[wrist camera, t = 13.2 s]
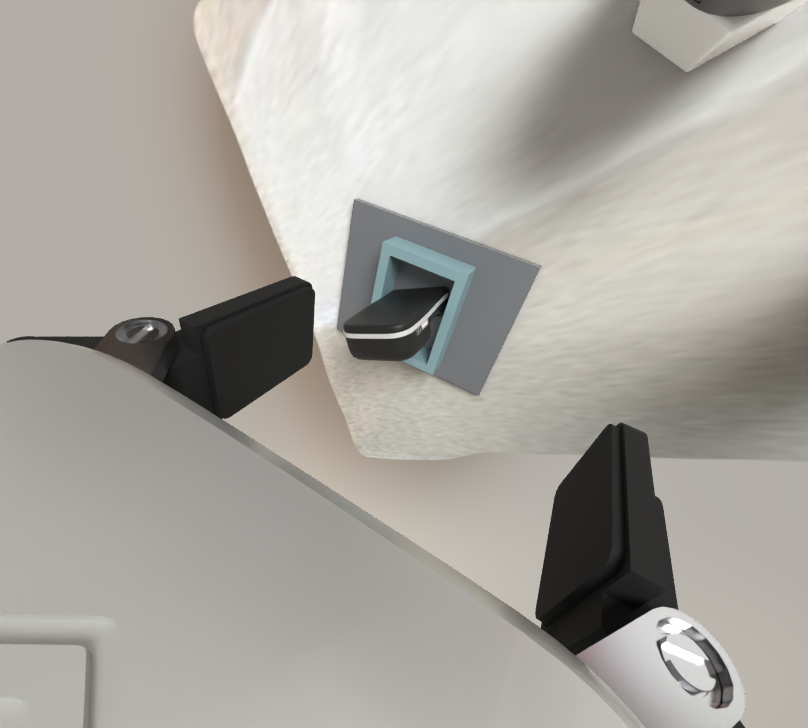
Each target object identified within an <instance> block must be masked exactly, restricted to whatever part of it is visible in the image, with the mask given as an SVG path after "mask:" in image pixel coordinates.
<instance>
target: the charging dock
mask: <svg viewBox="0 0 808 728" xmlns="http://www.w3.org/2000/svg"><path fill="white" fill-rule="evenodd" d="M540 267H541V266H540V265H537V264H534V263H532V262H529V261H526V260H524V259H521V258H518V257H515V256H513V255H510V254H507V253H504V252H502V251H499V250H496V249H494V248H491V247H488V246H485V245H483V244H480V243H477V242H475V241H472V240H469V239H466V238H464V237H461V236H458V235H455V234H453V233H450V232H447V231H445V230H442V229H439V228H436V227H434V226H431V225H428V224H425V223H423V222H420V221H417V220H415V219H412V218H409V217H406V216H404V215H401V214H398V213H395V212H393V211H390V210H387V209H385V208H382V207H379V206H376V205H374V204H371V203H368V202H365V201H363V200H360V199H354V204H353V212H352V219H351V227H350V234H349V242H348V249H347V257H346V265H345V272H344V280H343V287H342V295H341V302H340V310H339V317H338V325H337V329H339V330H341V331H343V330H344V328H343V325H344V323H345V322H346V321H347V320H348V319H349V318H351V317H352V316H354V315H355V314H357V313H358V312H360V311H361V310H363V309H364V308H366V307H367V306H369V305H371V304H372V303H374V302H375V301H377V300H379V299H380V298H382V297H384V296H385V295H387V294H388V293H389V292H391V291H392V290H397V289H411V288H427V287H446V288H447V292H448V293H449V297H448V303H447V306H446V309H445V312H444V315H442V316H435V317H434V319H433V320H432V321H431V324H430V327H431V337H430V339H429V341H428V342H427V343H426V344H425V345H424V346H423V347H422V348H421V350H419V351H418V352H417V353H416V354H415V355H414V356H413V357H411V358H410V359H407V360H403V362H405V363H407V364H409V365H411V366H414V367H416V368H418V369H420V370H422V371H424V372H426V373H428V374H430V375H433V374H434V375H436V376H438V377H440V378H442V379H444V380H446V381H448V382H451V383H453V384H455V385H457V386H459V387H461V388H463V389H465V390H467V391H470V392H472V393H474V394H476V395H478V396H479V394H480V392H481V390H482V388H483V386H484V383H485V381H486V379H487V377H488V375H489V373H490V371H491V369H492V367H493V365H494V363H495V361H496V359H497V357H498V354H499V352H500V350H501V348H502V346H503V344H504V342H505V340H506V338H507V336H508V334H509V332H510V330H511V328H512V325H513V323H514V321H515V319H516V317H517V315H518V313H519V311H520V309H521V307H522V305H523V303H524V301H525V299H526V296H527V294H528V292H529V290H530V288H531V286H532V284H533V282H534V280H535V278H536V276H537V274H538V272H539V270H540Z"/></svg>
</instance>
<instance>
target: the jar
mask: <svg viewBox="0 0 808 728" xmlns="http://www.w3.org/2000/svg"><path fill="white" fill-rule="evenodd" d="M807 1H808V0H640V2H639V6H638V9H637V13H636V17H635V21H634V24H633V28H632V32H633V34H634V35H636V36H637V37H639V38H640V39H641V40H643V41H644V42H645V43H647V44H648V45H650V46H651V47H652V48H654V49H655V50H656V51H658V52H659V53H661V54H662V55H663V56H665V57H666V58H667V59H669V60H670V61H671V62H673V63H674V64H675V65H677V66H678V67H679V68H681V69H682V70H684V71H685V72H689V71H691V70H693V69H695V68H696V67H698V66H700V65H702V64H704V63H705V62H707V61H709V60H711V59H712V58H714V57H716V56H718V55H720V54H721V53H723V52H725V51H727V50H729V49H730V48H732V47H734V46H736V45H738V44H739V43H741V42H743V41H745V40H747V39H748V38H750V37H752V36H754V35H756V34H757V33H759V32H761V31H763V30H765V29H766V28H768V27H770V26H772V25H774V24H775V23H777V22H779V21H781V20H782V19H784V18H785V17H786V16H788V15H789V14H790V13H792V12H793V11H795V10H796V9H797V8H799V7H800V6H801V5H803V4H804V3H806V2H807Z"/></svg>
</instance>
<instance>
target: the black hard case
mask: <svg viewBox="0 0 808 728" xmlns="http://www.w3.org/2000/svg"><path fill="white" fill-rule="evenodd" d="M448 297H449V293H448V292H447V288H446V287H427V288H411V289H397V290H392V291H391V292H389V293H388V294H387V295H385V296H384V297H382V298H380V299H379V300H377V301H375V302H374V303H372V304H371V305H369V306H367V307H366V308H364V309H363V310H361V311H360V312H358V313H357V314H355V315H354V316H352V317H351V318H349V319H348V320H347V321H346V322H345V323H344V325H343V328H344V330H343V333H344V336H345V337H346V340H347V343H348V347H349V350H350V352H351V354H352V355H353V357H355V358H357V359H362V360H380V361H403V360H407V359H410V358H411V357H413V356H414V355H415V354H416V353H417V352H418V351H419V350H421V348H422V347H423V346H424V345H425V344H426V343H427V342H428V341H429V339H430V337H431V327H430V324H431V321H432V320H433V319H434V317H435V316H442V315H444V312H445V309H446V306H447V303H448Z"/></svg>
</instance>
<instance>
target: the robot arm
mask: <svg viewBox="0 0 808 728" xmlns="http://www.w3.org/2000/svg"><path fill="white" fill-rule="evenodd" d="M314 305H315V292H314V290H313V289H312V285H311V284H310V283H309V282H307V281H305V280H302V279H300V278H298V277H295V276H293V277H289V278H287V279H284V280H281V281H279V282H276V283H274V284H271V285H268V286H265V287H262V288H260V289H257V290H254V291H252V292H249V293H247V294H244V295H241V296H238V297H236V298H233V299H230V300H228V301H225V302H222V303H220V304H217V305H214V306H211V307H209V308H206V309H203V310H201V311H198V312H195V313H193V314H190V315H187V316H185V317H182V318H179V322H180V327H181V330H179V331H176V332H175V328H174V326H173V324H172V323H170V322H169V321H167V320H164V319H161V318H154V317H141V318H135V319H130V320H126V321H123V322H121V323H119V324H117V325H115V326H114V327H112V328H111V329H110V330H109V331H108V333H107V334H106V335H105V336H104V337H33V336H32V337H31V336H27V337H19V338H15V339H12V340H9V341H7V343H3V344H0V728H745V727H744V726H743V724H742V723H741V721H740V719H741V717H742V715H743V713H744V711H745V693H744V689H743V686H742V683H741V680H740V677H739V675H738V673H737V671H736V669H735V667H734V665H733V663H732V661H731V659H730V658H729V656H728V655H727V654H726V652H725V651H724V650H723V648H722V647H721V645H720V644H719V643H718V641H717V640H716V639H715V638H714V637H713V636H712V635H711V634H710V633H709V632H708V631H707V630H706V629H705V628H704V627H703V626H702V625H700V624H699V623H698V622H696V621H695V620H694V619H692V618H691V617H690V616H688V615H686V614H684V613H682V612H680V611H678V606H677V599H676V593H675V585H674V578H673V571H672V565H671V558H670V552H669V544H668V538H667V531H666V524H665V517H664V510H663V505H662V502H661V500H660V499H659V498H658V497H656V496H655V493H654V486H653V477H652V469H651V462H650V454H649V446H648V438H647V434H646V433H644V432H642V431H640V430H637V429H635V428H633V427H631V426H628V425H626V424H624V423H619V424H618V425H617V426H614V425H612V424H609V425H607V426H606V428H605V429H604V430H603V431H602V433H601V434H600V435H599V436H598V438H597V439H596V440H595V441H594V443H593V444H592V445H591V446H590V448H589V449H588V450H587V451H586V453H585V454H584V455H583V456H582V458H581V459H580V460H579V461H578V463H577V464H576V465H575V466H574V468H573V469H572V470H571V472H570V473H569V474H568V475H567V477H566V478H565V479H564V480H563V481H562V483H561V484H560V485H559V487H558V489H557V491H556V494H555V498H554V504H553V510H552V516H551V522H550V528H549V534H548V540H547V546H546V552H545V558H544V564H543V570H542V575H541V581H540V587H539V593H538V599H537V605H536V613H535V614H536V618H537V619H538V620H540V621H541V622H542V624H541V628H539V627H538V626H537V625H535V624H534V623H532V622H531V621H530V620H528V619H527V618H526V617H524V616H523V615H522V614H520V613H519V612H517V611H516V610H515V609H513V608H512V607H510V606H509V605H507V604H505V603H504V602H503V601H501V600H500V599H498V598H497V597H495V596H494V595H492V594H491V593H489V592H488V591H486V590H484V589H483V588H482V587H480V586H479V585H477V584H476V583H474V582H473V581H471V580H470V579H468V578H467V577H465V576H464V575H462V574H461V573H459V572H458V571H456V570H455V569H453V568H452V567H451V566H449V565H448V564H446V563H445V562H443V561H441V560H440V559H438V558H437V557H435V556H434V555H432V554H431V553H429V552H428V551H426V550H424V549H423V548H421V547H420V546H418V545H416V544H415V543H413V542H412V541H410V540H409V539H407V538H406V537H404V536H403V535H401V534H400V533H398V532H396V531H395V530H394V529H392V528H390V527H389V526H387V525H386V524H384V523H383V522H381V521H380V520H378V519H377V518H375V517H373V516H372V515H370V514H369V513H367V512H366V511H364V510H363V509H361V508H360V507H358V506H357V505H355V504H353V503H352V502H350V501H349V500H347V499H346V498H344V497H343V496H341V495H339V494H338V493H336V492H335V491H333V490H332V489H330V488H329V487H327V486H325V485H324V484H322V483H321V482H319V481H318V480H316V479H314V478H313V477H311V476H310V475H308V474H307V473H305V472H304V471H302V470H300V469H299V468H297V467H295V466H294V465H292V464H291V463H289V462H288V461H286V460H285V459H283V458H282V457H280V456H279V455H277V454H275V453H274V452H272V451H271V450H269V449H268V448H266V447H264V446H263V445H261V444H260V443H258V442H257V441H255V440H254V439H252V438H250V437H249V436H247V435H246V434H244V433H242V432H241V431H239V430H238V429H236V428H235V427H233V426H231V425H230V424H228V423H227V422H225V421H223V420H222V419H223V418H225V419H226V418H229V417H231V416H232V415H234V414H235V413H237V412H238V411H240V410H241V409H242V408H244V407H246V406H247V405H249V404H250V403H251V402H253V401H254V400H256V399H257V398H259V397H260V396H262V395H263V394H264V393H266V392H268V391H269V390H271V389H272V388H273V387H275V386H276V385H278V384H279V383H281V382H282V381H284V380H285V379H287V378H288V377H290V376H291V375H293V374H294V373H296V372H297V371H298V370H300V369H301V368H303V367H304V366H306V365H307V364H308V363H309V362H310V360H311V358H312V347H313V327H314Z"/></svg>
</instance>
